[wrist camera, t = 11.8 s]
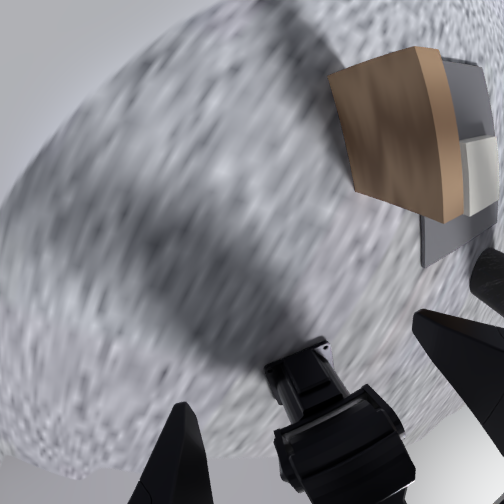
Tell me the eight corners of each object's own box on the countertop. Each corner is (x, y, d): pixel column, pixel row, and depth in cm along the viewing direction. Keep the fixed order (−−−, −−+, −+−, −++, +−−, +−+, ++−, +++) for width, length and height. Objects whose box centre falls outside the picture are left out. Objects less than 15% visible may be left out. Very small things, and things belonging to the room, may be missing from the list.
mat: (494, 221, 26) (497, 222, 26) (421, 266, 25) (424, 268, 24) (478, 67, 18) (482, 67, 18) (392, 57, 17) (395, 56, 16)
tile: (458, 212, 23) (489, 196, 24) (469, 216, 22) (499, 199, 22) (454, 141, 20) (486, 134, 21) (465, 143, 19) (496, 136, 19)
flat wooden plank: (375, 185, 20) (463, 213, 12) (355, 191, 20) (443, 224, 12) (349, 73, 17) (438, 49, 8) (326, 75, 16) (414, 46, 8)
